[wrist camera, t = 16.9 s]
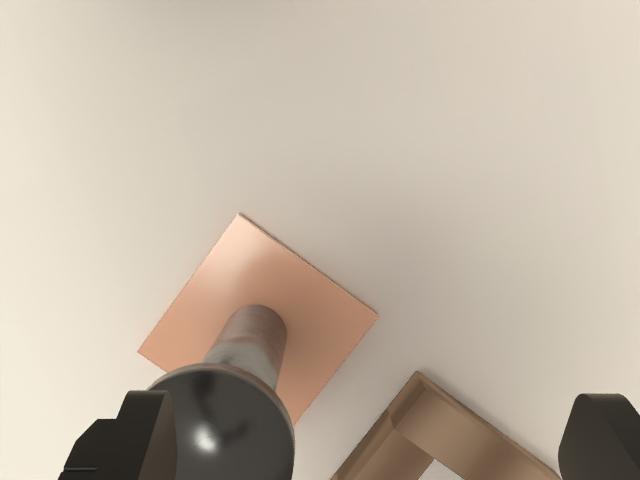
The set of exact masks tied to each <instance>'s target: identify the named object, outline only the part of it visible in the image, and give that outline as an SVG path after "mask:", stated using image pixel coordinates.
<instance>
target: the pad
mask: <svg viewBox="0 0 640 480" xmlns="http://www.w3.org/2000/svg"><path fill="white" fill-rule="evenodd" d="M248 305H262V306H266V307H268V308H270V309H272V310H274V311H275V312H276V313H277V314H278V315H279V316H280V317H281V318H282V320H283V322H284V324H285V326H286V330H287V341H286V346H285V350H284V355H283V360H282V365H281V369H280V374H279V379H278V384H277V388H276V394H277V395H278V397H279V398H280V399H281V400H282V402H283V404H284V406H285V407H286V409H287V411H288V413H289V416H290V418H291V421H292V425H293V426H294V425H295V423H296V422H297V421H298V419H299V418H300V417H301V416H302V414H303V413H304V412H305V410H306V409H307V408H308V406H309V405H310V404H311V403H312V401H313V400H314V399H315V397H316V396H317V395H318V394H319V392H320V391H321V390H322V388H323V387H324V386H325V385H326V383H327V382H328V381H329V379H330V378H331V377H332V376H333V374H334V373H335V372H336V370H337V369H338V368H339V366H340V365H341V364H342V363H343V361H344V360H345V359H346V357H347V356H348V355H349V354H350V352H351V351H352V350H353V348H354V347H355V346H356V345H357V343H358V342H359V341H360V339H361V338H362V337H363V336H364V334H365V333H366V332H367V330H368V329H369V328H370V326H371V325H372V324H373V323H374V321H375V320H376V319H377V317H378V316H377V314H376V313H375V312H374V311H372V310H371V309H369V308H368V307H367V306H365V305H364V304H363V303H361V302H360V301H359V300H357V299H356V298H354V297H353V296H352V295H350V294H349V293H348V292H346V291H345V290H344V289H342V288H341V287H339V286H338V285H337V284H335V283H334V282H333V281H331V280H330V279H329V278H327V277H326V276H324V275H323V274H322V273H320V272H319V271H318V270H316V269H315V268H314V267H312V266H311V265H309V264H308V263H307V262H305V261H304V260H303V259H301V258H300V257H299V256H297V255H296V254H294V253H293V252H292V251H290V250H289V249H288V248H286V247H285V246H284V245H282V244H281V243H279V242H278V241H277V240H275V239H274V238H273V237H271V236H270V235H268V234H267V233H266V232H264V231H263V230H262V229H260V228H259V227H258V226H256V225H255V224H253V223H252V222H251V221H249V220H248V219H247V218H245V217H244V216H243V215H241V214H240V213H238V214H237V215H236V217H235V218H234V219H233V221H232V222H231V224H230V225H229V226H228V228H227V229H226V230H225V232H224V233H223V235H222V236H221V237H220V239H219V240H218V241H217V243H216V244H215V246H214V247H213V248H212V250H211V251H210V252H209V254H208V255H207V257H206V258H205V259H204V261H203V262H202V263H201V265H200V266H199V267H198V269H197V270H196V272H195V273H194V274H193V276H192V277H191V278H190V280H189V281H188V283H187V284H186V285H185V287H184V288H183V289H182V291H181V292H180V294H179V295H178V296H177V298H176V299H175V300H174V302H173V303H172V305H171V306H170V307H169V309H168V310H167V311H166V313H165V314H164V315H163V317H162V318H161V320H160V321H159V322H158V324H157V325H156V326H155V328H154V329H153V331H152V332H151V333H150V335H149V336H148V337H147V339H146V340H145V342H144V343H143V344H142V346H141V347H140V348H139V350H138V351H137V352H138V353H139V354H141V355H142V356H144V357H145V358H147V359H148V360H150V361H151V362H152V363H154V364H155V365H157V366H158V367H160V368H161V369H162V370H164V371H165V372H167V373H169V372H171V371H173V370H175V369H177V368H180V367H183V366H187V365H191V364H196V363H201V361H202V360H203V358H204V357H205V355H206V354H207V352H208V351H209V349H210V347H211V346H212V344H213V343H214V341H215V340H216V338H217V337H218V335H219V333H220V332H221V330H222V329H223V327H224V326H225V324H226V323H227V321H228V320H229V318H230V317H231V315H232V314H233V313H234V312H236V311H237V310H238V309H240V308H242V307H245V306H248Z"/></svg>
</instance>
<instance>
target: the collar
mask: <svg viewBox="0 0 640 480" xmlns="http://www.w3.org/2000/svg"><path fill="white" fill-rule="evenodd" d="M434 459H436V460H438V461H439V462H441V463H442V464H443V465H445V466H446V467H448V468H449V469H450V470H452V471H453V472H455V473H456V474H457V475H459V476H460V477H462V478H463V479H464V480H562V479H561V478H560V477H559V476H558V474H557V473H556V472H555V471H554V470H552V469H551V468H549V467H548V466H547V465H545V464H544V463H543V462H541V461H540V460H538V459H537V458H536V457H534V456H533V455H532V454H530V453H529V452H527V451H526V450H525V449H523V448H522V447H521V446H519V445H518V444H516V443H515V442H514V441H512V440H511V439H510V438H508V437H507V436H505V435H504V434H503V433H501V432H500V431H499V430H497V429H496V428H494V427H493V426H492V425H490V424H489V423H488V422H486V421H485V420H483V419H482V418H481V417H479V416H478V415H477V414H475V413H474V412H472V411H471V410H470V409H468V408H467V407H466V406H464V405H463V404H461V403H460V402H459V401H457V400H456V399H455V398H453V397H452V396H450V395H449V394H448V393H446V392H445V391H444V390H442V389H441V388H439V387H438V386H437V385H435V384H434V383H433V382H431V381H430V380H428V379H427V378H426V377H424V376H423V375H422V374H420V373H419V372H417V371H416V372H415V374H414V375H413V376H412V377H411V379H410V380H409V381H408V383H407V384H406V385H405V386H404V388H403V389H402V390H401V391H400V393H399V394H398V395H397V396H396V398H395V399H394V400H393V401H392V403H391V404H390V405H389V407H388V408H387V409H386V410H385V412H384V413H383V414H382V415H381V417H380V418H379V419H378V420H377V422H376V423H375V424H374V425H373V427H372V428H371V429H370V430H369V432H368V433H367V434H366V436H365V437H364V438H363V439H362V441H361V442H360V443H359V444H358V446H357V447H356V448H355V449H354V451H353V452H352V453H351V454H350V456H349V457H348V458H347V460H346V461H345V462H344V463H343V465H342V466H341V467H340V468H339V470H338V471H337V472H336V473H335V475H334V476H333V477H332V478H331V480H418V479H419V477H420V476H421V475H422V474H423V473H424V471H425V470H426V469H427V468H428V466H429V465H430V464H431V463H432V461H433V460H434Z"/></svg>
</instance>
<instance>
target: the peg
mask: <svg viewBox="0 0 640 480" xmlns="http://www.w3.org/2000/svg"><path fill="white" fill-rule="evenodd" d="M286 341H287V330H286V326H285V324H284V322H283V320H282V318H281V317H280V316H279V315H278V314H277V313H276V312H275V311H274V310H272V309H270V308H268V307H266V306H262V305H248V306H245V307H242V308H240V309H238V310H237V311H236V312H234V313H233V314H232V315H231V317H230V318H229V320H228V321H227V323H226V324H225V326H224V327H223V329H222V330H221V332H220V333H219V335H218V337H217V338H216V340H215V341H214V343H213V344H212V346H211V347H210V349H209V351H208V352H207V354H206V355H205V357H204V358H203V360H202V361H201V363H196V364H191V365H187V366H183V367H180V368H177V369H175V370H173V371H171V372H169V373H167V374H165V375H163V376H162V377H160V378H159V379H158V380H156V381H155V382H154V383H153V384H152V385H151V386H150V387H149V388H147V390H146V391H169V392H170V393H171V398H172V406H173V414H174V423H175V431H176V440H177V468H176V476H175V480H291V479H292V473H293V465H294V455H295V436H294V429H293V425H292V421H291V418H290V416H289V413H288V411H287V409H286V407H285V406H284V404H283V402H282V400H281V399H280V398H279V397H278V395H277V394H276V388H277V384H278V379H279V374H280V369H281V365H282V360H283V355H284V350H285V346H286Z"/></svg>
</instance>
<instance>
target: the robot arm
mask: <svg viewBox="0 0 640 480" xmlns="http://www.w3.org/2000/svg"><path fill="white" fill-rule="evenodd" d="M558 462H559V468H560V472H561V476H562V479H563V480H640V415H639V414H638V412H637V411H636V410H635V408H634V407H633V406H632V404H631V403H630V402H629V401H628V399H627V398H626V397H624V396H623V395H621V394H580V395H578V396H577V398H576V399H575V401H574V404H573V407H572V410H571V413H570V416H569V419H568V422H567V425H566V428H565V431H564V434H563V437H562V440H561V443H560V446H559V452H558ZM176 468H177V440H176V431H175V423H174V414H173V406H172V398H171V393H170V392H169V391H129V392H128V393H127V394H126V396H125V399H124V401H123V404H122V406H121V408H120V411H119V413H118V416H117V418H116V419H97V420H96V421H95V422H94V423H93V424H92V425H91V426H90V427H89V428H88V429H87V430H86V431H85V432H84V433H83V434H82V435H81V436H80V437H79V438H78V439H77V440H76V442H75V444H74V446H73V448H72V450H71V452H70V455H69V457H68V459H67V461H66V463H65V465H64V471H63V472H61V474H60V476H59V478H58V480H175V476H176Z"/></svg>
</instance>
